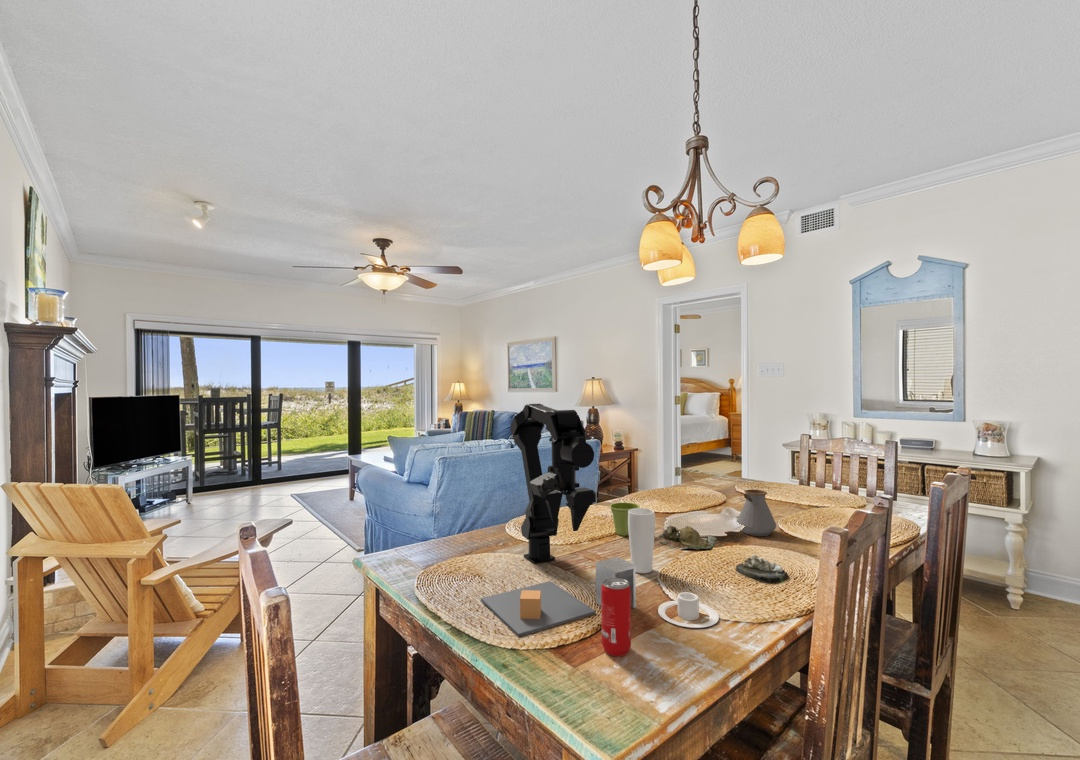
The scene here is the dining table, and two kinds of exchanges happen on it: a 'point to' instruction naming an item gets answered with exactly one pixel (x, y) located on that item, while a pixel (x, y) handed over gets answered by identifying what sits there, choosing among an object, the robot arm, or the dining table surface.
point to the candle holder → (688, 610)
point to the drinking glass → (641, 538)
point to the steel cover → (615, 575)
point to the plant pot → (621, 516)
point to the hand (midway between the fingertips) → (564, 526)
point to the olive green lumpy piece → (687, 538)
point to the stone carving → (762, 570)
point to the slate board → (553, 608)
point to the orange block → (530, 604)
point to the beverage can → (616, 616)
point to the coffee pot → (756, 514)
